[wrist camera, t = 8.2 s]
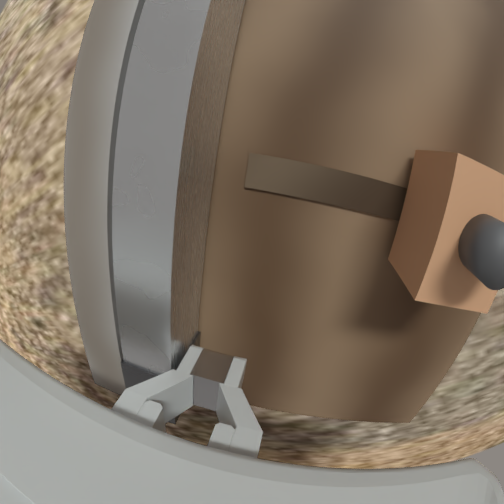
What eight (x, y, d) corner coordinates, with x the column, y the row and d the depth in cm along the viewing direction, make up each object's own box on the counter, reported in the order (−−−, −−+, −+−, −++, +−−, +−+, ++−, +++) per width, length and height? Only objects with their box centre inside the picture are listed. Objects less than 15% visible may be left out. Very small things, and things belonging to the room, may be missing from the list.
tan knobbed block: (479, 175, 8) (554, 198, 4) (451, 274, 9) (504, 334, 5) (415, 149, 8) (484, 155, 4) (387, 259, 9) (429, 325, 6)
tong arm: (263, -57, 6) (248, -103, 3) (197, 376, 13) (175, 424, 10) (210, -55, 6) (183, -95, 3) (157, 363, 13) (130, 406, 10)
